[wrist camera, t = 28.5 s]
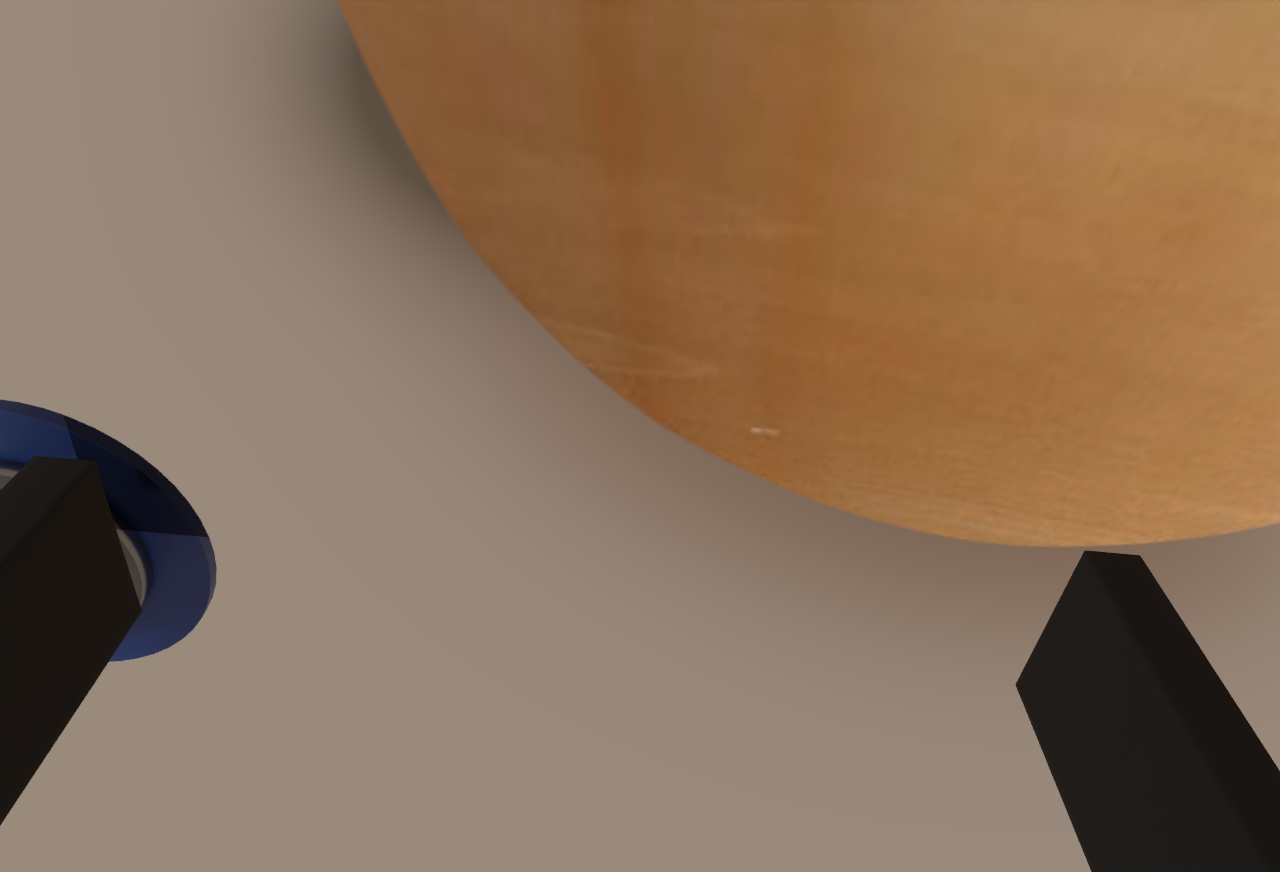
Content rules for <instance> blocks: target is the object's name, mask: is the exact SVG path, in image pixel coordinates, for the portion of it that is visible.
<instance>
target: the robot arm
mask: <svg viewBox="0 0 1280 872" xmlns="http://www.w3.org/2000/svg"><path fill="white" fill-rule="evenodd" d="M152 577H153V573H152V565H151V561H150V557H149V554H148V552H147V549H146V547H145V545H144V543H143V541H142V540H141V538H140V537H139V535H138V534H137V532H136V531H135V530H134V528H133V527H132V526H131V524H130V523H129V522H128V521H127V520H126V519H125V518H124V517H123V516H122V515H121V514H120V513H119V512H118V511H117V510H116V509H115V508H114V507H112V506H111V505H110V504H109V503H108V502H107V499H106V495H105V492H104V489H103V486H102V483H101V480H100V476H99V473H98V470H97V467H96V464H95V461H87V460H76V459H65V458H54V457H43V456H34V457H33V458H32V459H31V460H30V461H29V462H28V463H27V464H26V463H21V462H16V461H9V460H0V825H1V824H2V822H3V821H4V819H5V818H6V816H7V814H8V813H9V811H10V810H11V808H12V807H13V805H14V804H15V802H16V801H17V799H18V798H19V796H20V794H21V793H22V792H23V790H24V789H25V787H26V786H27V784H28V783H29V781H30V780H31V778H32V777H33V775H34V774H35V772H36V770H37V769H38V768H39V766H40V765H41V763H42V762H43V760H44V759H45V757H46V756H47V754H48V753H49V751H50V750H51V748H52V747H53V745H54V743H55V742H56V740H57V739H58V737H59V736H60V734H61V733H62V731H63V730H64V728H65V727H66V725H67V724H68V722H69V721H70V719H71V718H72V716H73V715H74V713H75V712H76V710H77V709H78V707H79V706H80V704H81V703H82V701H83V700H84V698H85V696H86V695H87V694H88V692H89V690H90V689H91V688H92V686H93V685H94V683H95V682H96V680H97V679H98V677H99V676H100V674H101V672H102V671H103V669H104V668H105V666H106V665H107V663H108V662H109V660H110V659H111V657H112V656H113V654H114V653H115V651H116V650H117V648H118V647H119V645H120V644H121V642H122V641H123V639H124V638H125V636H126V635H127V633H128V632H129V630H130V629H131V627H132V626H133V624H134V623H135V621H136V620H137V618H138V617H139V615H140V614H141V612H142V609H141V606H142V605H143V603H144V602H145V600H146V598H147V597H148V595H149V592H150V589H151V585H152ZM1016 687H1017V689H1018V692H1019V694H1020V697H1021V699H1022V702H1023V704H1024V707H1025V709H1026V712H1027V714H1028V717H1029V719H1030V721H1031V724H1032V726H1033V729H1034V731H1035V734H1036V736H1037V739H1038V741H1039V744H1040V746H1041V749H1042V751H1043V753H1044V756H1045V758H1046V761H1047V763H1048V766H1049V768H1050V771H1051V773H1052V776H1053V778H1054V780H1055V783H1056V785H1057V788H1058V790H1059V793H1060V795H1061V798H1062V800H1063V802H1064V805H1065V808H1066V810H1067V812H1068V815H1069V817H1070V820H1071V822H1072V824H1073V827H1074V830H1075V832H1076V835H1077V837H1078V840H1079V842H1080V844H1081V847H1082V849H1083V852H1084V854H1085V857H1086V859H1087V862H1088V864H1089V867H1090V869H1091V871H1092V872H1280V771H1279V769H1278V768H1277V766H1276V764H1275V763H1274V762H1273V760H1272V758H1271V757H1270V755H1269V754H1268V752H1267V751H1266V749H1265V748H1264V746H1263V744H1262V743H1261V741H1260V740H1259V738H1258V737H1257V735H1256V734H1255V732H1254V731H1253V729H1252V727H1251V726H1250V724H1249V723H1248V721H1247V720H1246V718H1245V717H1244V715H1243V714H1242V712H1241V710H1240V709H1239V707H1238V706H1237V704H1236V703H1235V701H1234V700H1233V698H1232V697H1231V695H1230V694H1229V692H1228V690H1227V689H1226V687H1225V686H1224V684H1223V683H1222V681H1221V680H1220V678H1219V677H1218V675H1217V674H1216V672H1215V670H1214V669H1213V667H1212V666H1211V664H1210V663H1209V661H1208V660H1207V658H1206V657H1205V655H1204V654H1203V652H1202V650H1201V649H1200V647H1199V646H1198V644H1197V643H1196V641H1195V639H1194V638H1193V636H1192V635H1191V633H1190V632H1189V630H1188V629H1187V627H1186V626H1185V624H1184V623H1183V621H1182V619H1181V618H1180V616H1179V615H1178V613H1177V612H1176V610H1175V609H1174V607H1173V606H1172V604H1171V603H1170V601H1169V599H1168V598H1167V596H1166V595H1165V593H1164V592H1163V590H1162V589H1161V587H1160V586H1159V584H1158V583H1157V581H1156V579H1155V578H1154V576H1153V575H1152V573H1151V572H1150V570H1149V569H1148V567H1147V565H1146V564H1145V562H1144V561H1143V559H1142V558H1141V556H1139V555H1129V554H1118V553H1106V552H1096V551H1084V553H1083V555H1082V557H1081V559H1080V561H1079V563H1078V565H1077V567H1076V568H1075V570H1074V572H1073V574H1072V576H1071V578H1070V580H1069V582H1068V584H1067V586H1066V588H1065V590H1064V592H1063V594H1062V596H1061V597H1060V599H1059V601H1058V603H1057V605H1056V607H1055V609H1054V611H1053V613H1052V615H1051V617H1050V619H1049V621H1048V623H1047V625H1046V627H1045V629H1044V630H1043V633H1042V634H1041V636H1040V638H1039V640H1038V642H1037V644H1036V646H1035V648H1034V650H1033V652H1032V654H1031V656H1030V658H1029V660H1028V661H1027V664H1026V665H1025V667H1024V669H1023V671H1022V673H1021V675H1020V677H1019V679H1018V681H1017V683H1016Z"/></svg>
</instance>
